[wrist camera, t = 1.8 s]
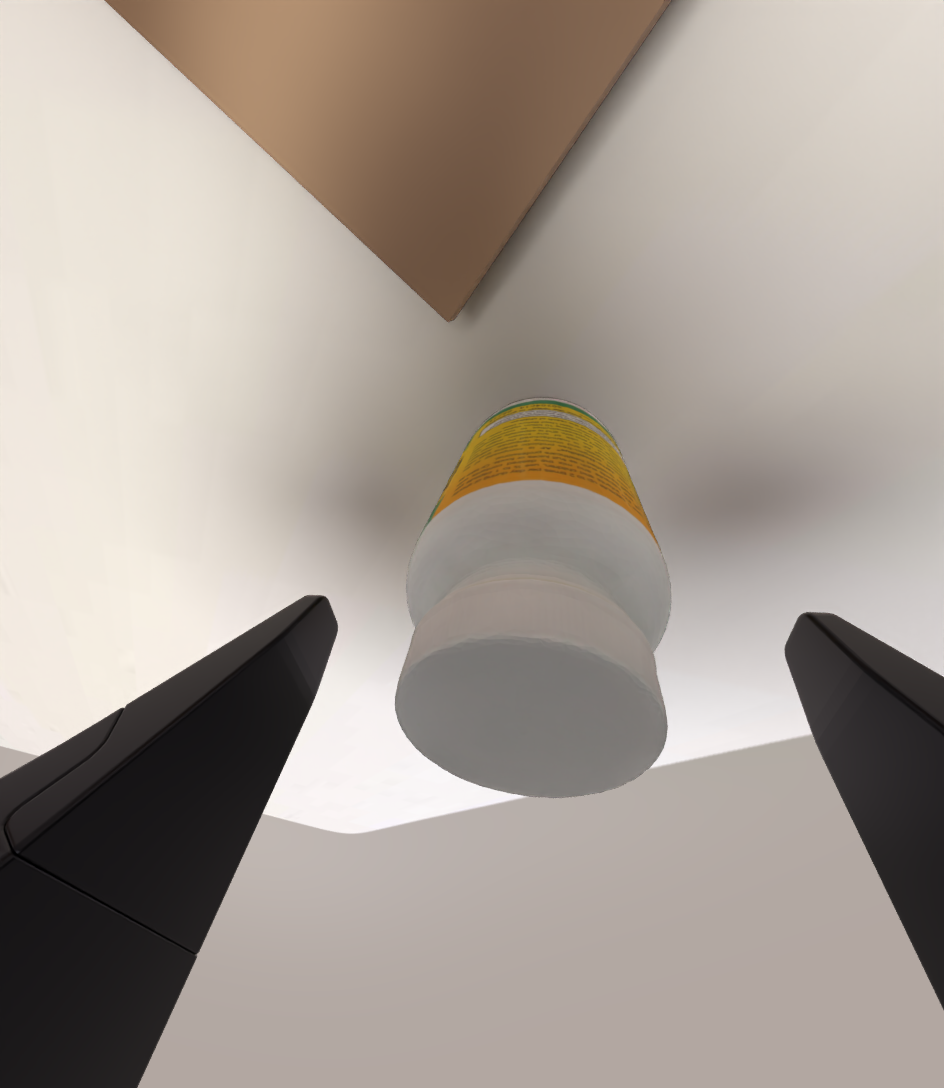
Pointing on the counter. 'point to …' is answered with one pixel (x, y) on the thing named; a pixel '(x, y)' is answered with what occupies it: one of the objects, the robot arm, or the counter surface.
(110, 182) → the counter surface
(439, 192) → the peg shelf
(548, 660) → the supplement bottle
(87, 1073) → the robot arm
